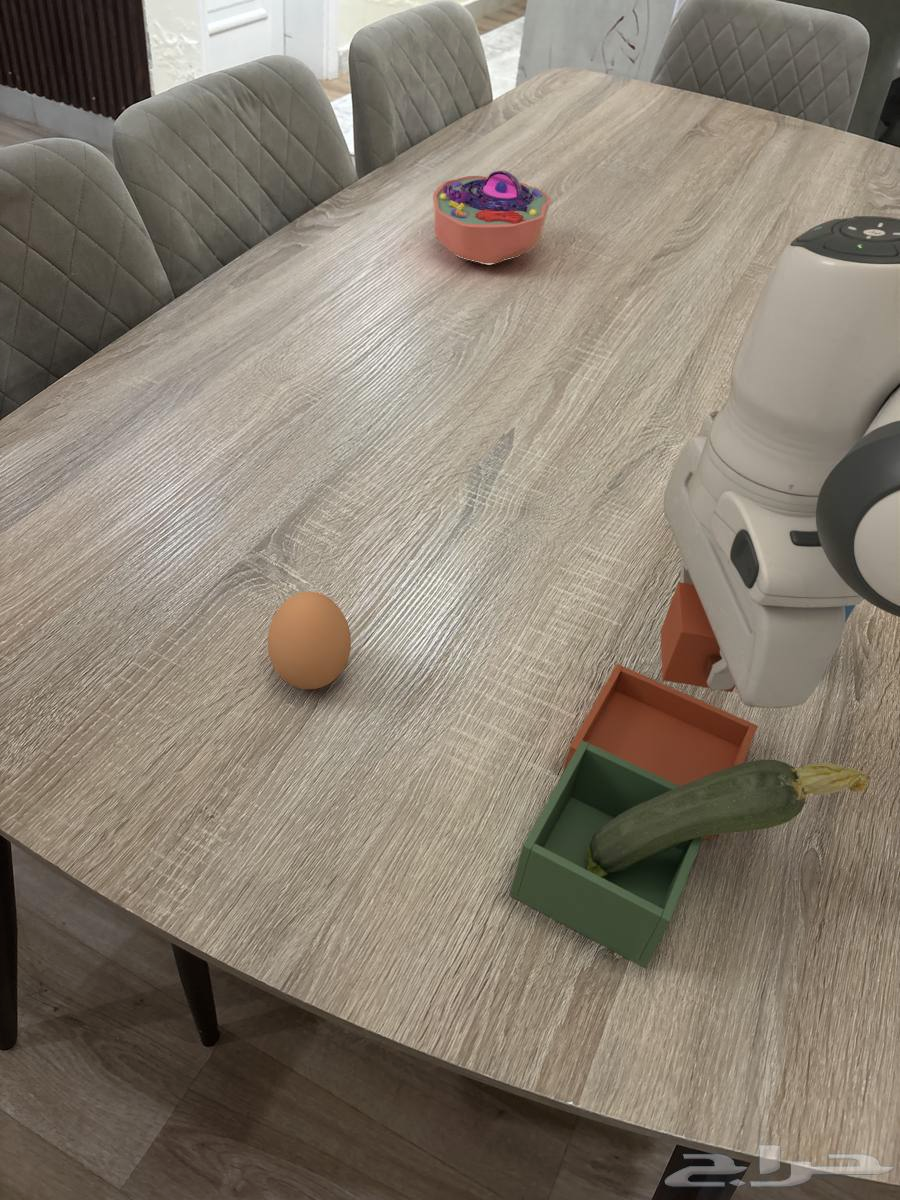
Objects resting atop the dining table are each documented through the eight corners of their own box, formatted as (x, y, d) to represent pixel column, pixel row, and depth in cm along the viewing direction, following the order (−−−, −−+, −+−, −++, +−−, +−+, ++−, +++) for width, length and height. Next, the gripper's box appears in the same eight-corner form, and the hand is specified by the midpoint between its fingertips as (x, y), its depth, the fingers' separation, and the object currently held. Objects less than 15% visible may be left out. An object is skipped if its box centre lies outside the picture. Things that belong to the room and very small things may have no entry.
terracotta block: (727, 642, 69) (749, 593, 66) (732, 692, 66) (756, 644, 62) (660, 630, 69) (678, 581, 66) (662, 680, 66) (681, 631, 62)
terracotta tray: (746, 748, 77) (758, 725, 75) (710, 840, 70) (722, 818, 68) (609, 686, 81) (617, 663, 79) (563, 769, 74) (570, 746, 72)
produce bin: (691, 852, 70) (716, 803, 65) (645, 968, 63) (670, 921, 58) (565, 791, 72) (581, 739, 68) (508, 895, 66) (522, 845, 61)
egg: (338, 715, 76) (340, 637, 69) (258, 700, 76) (253, 620, 70) (358, 656, 80) (361, 578, 74) (283, 642, 81) (280, 563, 74)
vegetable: (560, 834, 65) (840, 735, 56) (581, 814, 69) (847, 718, 60) (587, 893, 65) (874, 804, 55) (607, 870, 69) (879, 783, 59)
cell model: (399, 257, 138) (404, 178, 130) (474, 219, 150) (483, 145, 143) (496, 296, 132) (507, 215, 124) (565, 253, 144) (579, 177, 137)
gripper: (671, 395, 64) (625, 548, 73) (775, 606, 49) (700, 763, 59) (759, 398, 65) (702, 549, 74) (886, 606, 50) (794, 761, 60)
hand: (702, 645), depth 66 cm, fingers closed on terracotta block, 5 cm apart
